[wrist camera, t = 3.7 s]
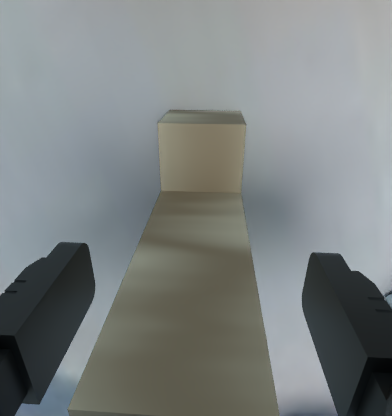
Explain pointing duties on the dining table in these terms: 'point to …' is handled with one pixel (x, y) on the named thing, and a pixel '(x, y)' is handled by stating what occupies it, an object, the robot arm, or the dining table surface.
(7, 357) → the robot arm
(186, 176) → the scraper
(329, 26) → the dining table surface
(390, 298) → the medicine box
